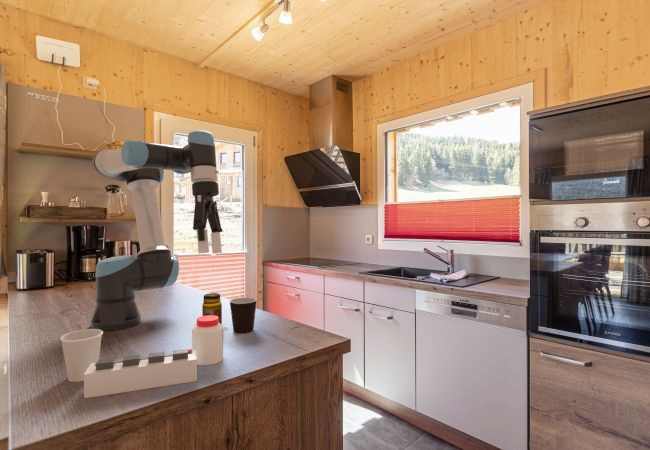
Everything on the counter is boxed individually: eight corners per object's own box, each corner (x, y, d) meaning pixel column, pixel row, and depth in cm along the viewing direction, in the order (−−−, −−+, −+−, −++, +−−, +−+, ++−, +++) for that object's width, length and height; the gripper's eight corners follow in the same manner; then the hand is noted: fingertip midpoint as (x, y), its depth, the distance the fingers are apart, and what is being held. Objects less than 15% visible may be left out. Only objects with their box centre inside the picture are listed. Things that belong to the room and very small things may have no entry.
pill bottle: (229, 357, 96) (229, 316, 95) (205, 368, 89) (205, 324, 89) (210, 351, 100) (209, 312, 99) (185, 361, 93) (185, 319, 93)
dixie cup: (83, 386, 79) (83, 341, 79) (51, 383, 81) (50, 339, 81) (112, 370, 88) (111, 329, 87) (82, 367, 89) (81, 327, 89)
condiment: (214, 335, 114) (214, 297, 113) (192, 332, 116) (191, 295, 116) (227, 328, 121) (227, 292, 120) (206, 325, 123) (205, 291, 123)
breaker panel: (91, 385, 80) (90, 357, 80) (196, 370, 88) (196, 344, 87) (84, 398, 74) (83, 367, 74) (197, 380, 82) (196, 353, 82)
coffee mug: (250, 335, 113) (250, 304, 113) (225, 333, 115) (225, 302, 114) (264, 324, 124) (263, 296, 124) (240, 323, 126) (240, 294, 126)
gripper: (204, 172, 96) (211, 251, 94) (227, 188, 121) (233, 251, 119) (176, 174, 95) (182, 254, 94) (204, 191, 120) (210, 254, 119)
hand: (210, 253), depth 106 cm, fingers open, 13 cm apart
